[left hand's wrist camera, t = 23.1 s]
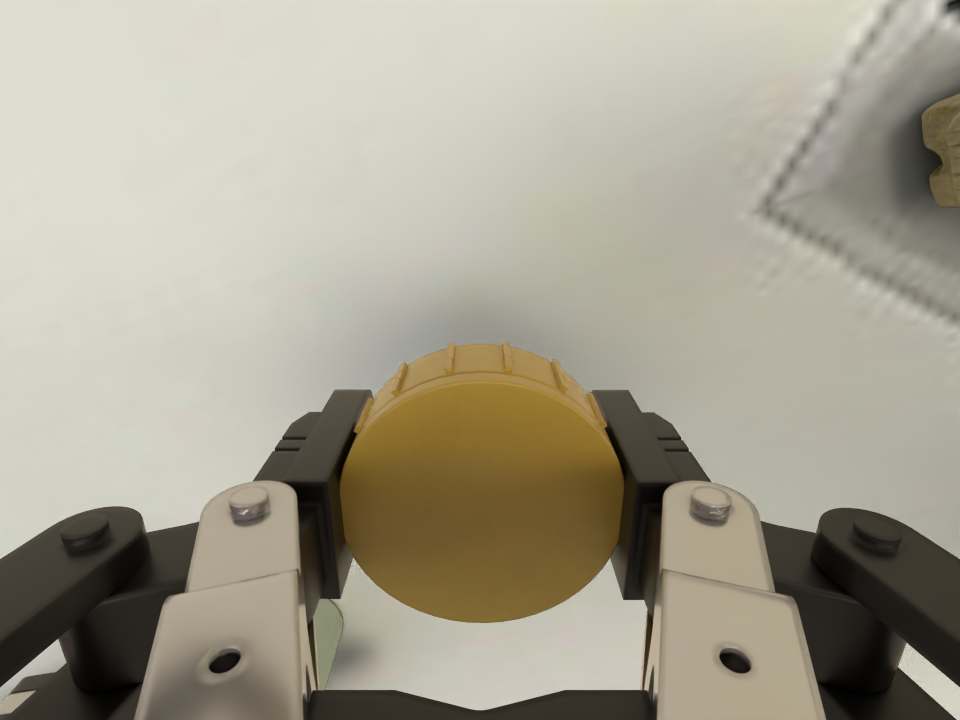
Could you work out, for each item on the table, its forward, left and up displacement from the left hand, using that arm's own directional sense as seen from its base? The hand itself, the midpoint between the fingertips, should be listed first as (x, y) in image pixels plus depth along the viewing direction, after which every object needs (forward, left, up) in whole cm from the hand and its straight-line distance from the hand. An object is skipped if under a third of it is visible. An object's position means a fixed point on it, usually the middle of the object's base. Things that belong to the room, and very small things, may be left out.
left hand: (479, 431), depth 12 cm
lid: (0, 0, +3) cm, 3 cm away
